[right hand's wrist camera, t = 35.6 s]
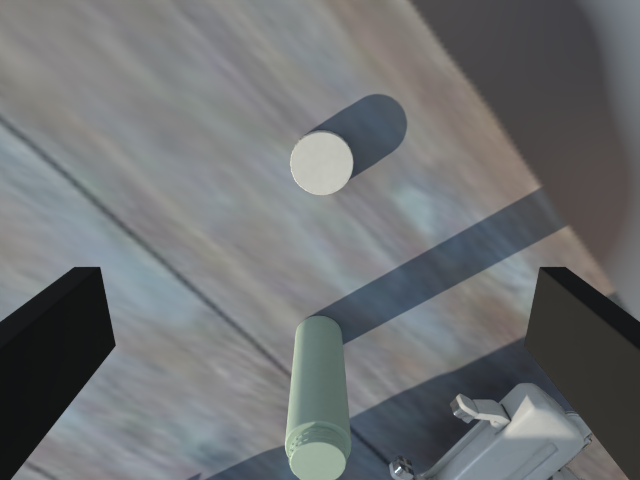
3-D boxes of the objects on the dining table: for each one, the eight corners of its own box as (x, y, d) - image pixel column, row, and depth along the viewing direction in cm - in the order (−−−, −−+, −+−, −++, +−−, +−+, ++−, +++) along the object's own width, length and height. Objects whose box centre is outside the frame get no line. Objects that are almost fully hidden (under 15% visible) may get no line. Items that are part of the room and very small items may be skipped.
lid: (296, 195, 39) (295, 199, 38) (286, 133, 38) (284, 136, 36) (355, 187, 39) (357, 191, 38) (349, 125, 37) (350, 126, 36)
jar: (311, 307, 44) (307, 425, 28) (350, 329, 45) (366, 455, 29) (287, 341, 45) (270, 471, 30) (325, 361, 46) (328, 498, 31)
